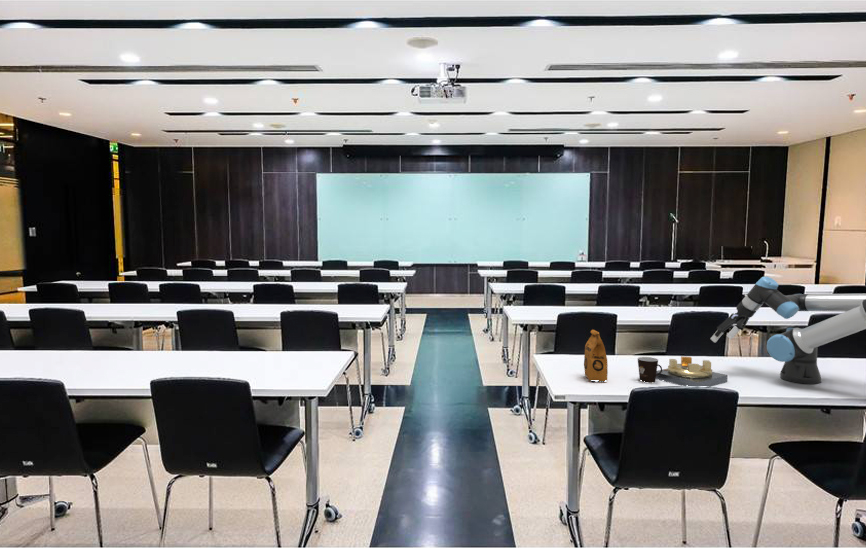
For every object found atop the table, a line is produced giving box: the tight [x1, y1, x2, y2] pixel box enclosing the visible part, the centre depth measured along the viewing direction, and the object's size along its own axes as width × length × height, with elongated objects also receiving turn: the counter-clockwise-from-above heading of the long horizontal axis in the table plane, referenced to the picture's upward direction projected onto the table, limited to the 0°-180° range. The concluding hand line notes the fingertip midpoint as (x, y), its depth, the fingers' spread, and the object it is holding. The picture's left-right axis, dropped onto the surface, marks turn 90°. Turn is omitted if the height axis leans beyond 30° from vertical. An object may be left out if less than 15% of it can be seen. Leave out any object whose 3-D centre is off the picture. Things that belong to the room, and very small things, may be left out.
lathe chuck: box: [667, 356, 713, 378], centre depth 241 cm, size 18×18×6 cm
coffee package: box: [583, 329, 609, 381], centre depth 244 cm, size 10×12×22 cm
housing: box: [655, 367, 729, 387], centre depth 242 cm, size 22×22×3 cm
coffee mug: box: [637, 356, 663, 383], centre depth 239 cm, size 12×9×10 cm
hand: (720, 339), depth 257 cm, fingers open, 13 cm apart
